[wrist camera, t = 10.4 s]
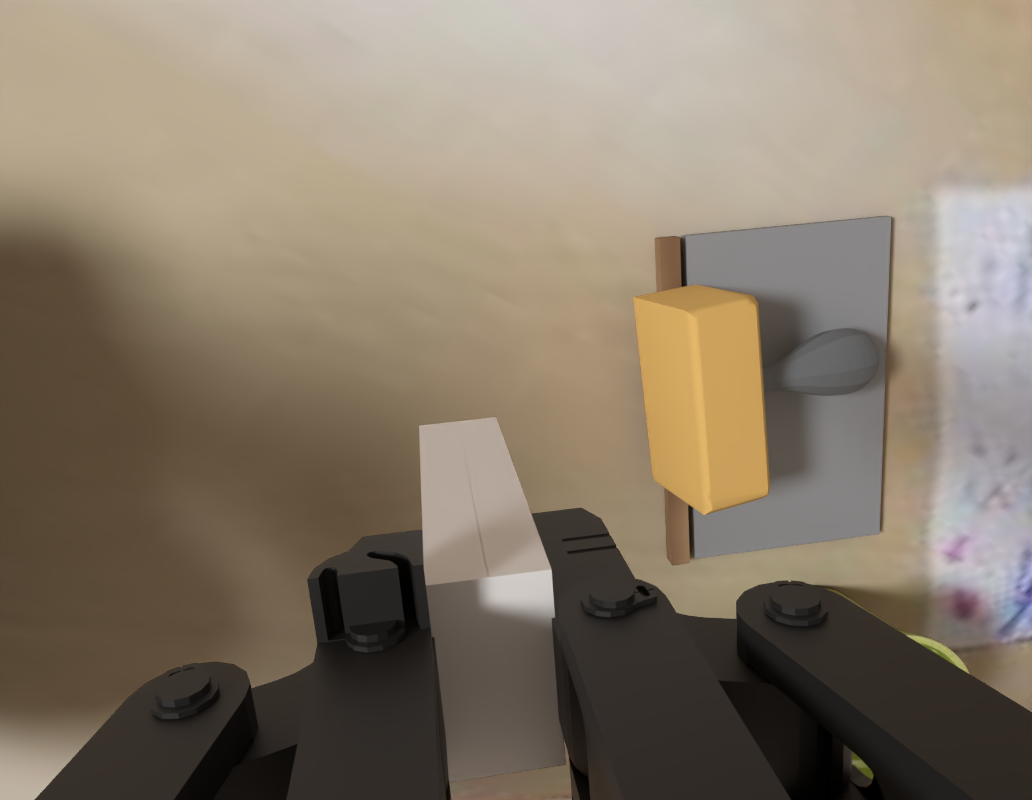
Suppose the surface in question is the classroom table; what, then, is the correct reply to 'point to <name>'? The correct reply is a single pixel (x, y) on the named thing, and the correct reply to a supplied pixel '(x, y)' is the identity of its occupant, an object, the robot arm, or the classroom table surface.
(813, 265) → the mat
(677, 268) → the rail
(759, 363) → the rubber stamp
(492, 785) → the classroom table surface
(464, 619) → the robot arm
